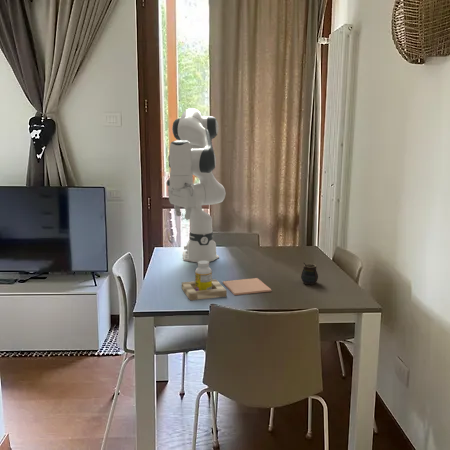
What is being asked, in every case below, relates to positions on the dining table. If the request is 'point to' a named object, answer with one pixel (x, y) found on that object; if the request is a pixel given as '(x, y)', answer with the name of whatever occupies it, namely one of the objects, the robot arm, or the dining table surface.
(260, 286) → the terracotta tile
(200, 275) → the supplement bottle
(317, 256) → the dining table surface
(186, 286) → the frame
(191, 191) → the robot arm
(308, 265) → the mate gourd
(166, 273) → the dining table surface
